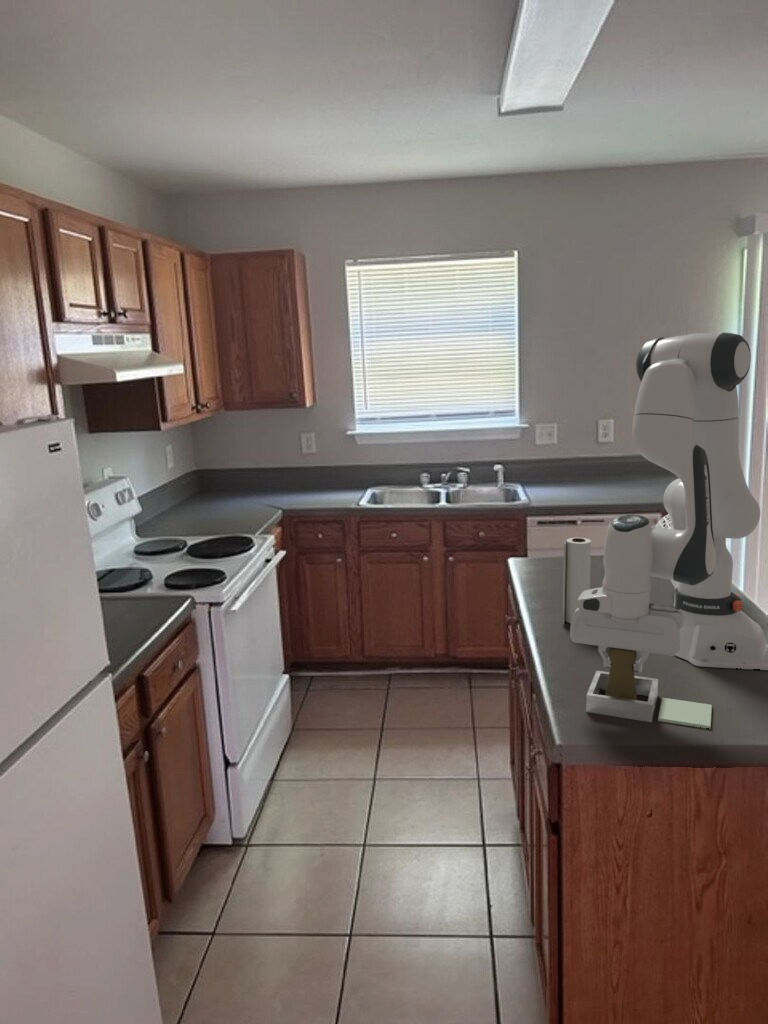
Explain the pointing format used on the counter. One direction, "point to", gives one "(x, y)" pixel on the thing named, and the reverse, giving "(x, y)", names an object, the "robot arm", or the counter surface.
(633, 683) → the olive green rounded piece
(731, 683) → the counter surface
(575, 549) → the paper towel roll
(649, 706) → the frame
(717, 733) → the counter surface
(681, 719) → the green pad
